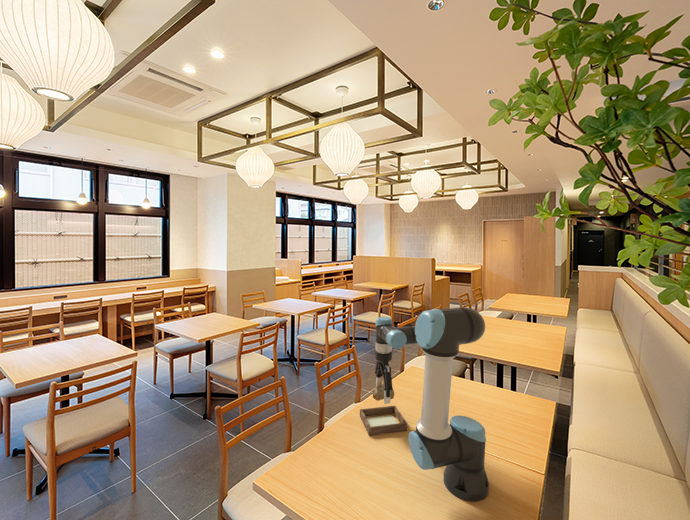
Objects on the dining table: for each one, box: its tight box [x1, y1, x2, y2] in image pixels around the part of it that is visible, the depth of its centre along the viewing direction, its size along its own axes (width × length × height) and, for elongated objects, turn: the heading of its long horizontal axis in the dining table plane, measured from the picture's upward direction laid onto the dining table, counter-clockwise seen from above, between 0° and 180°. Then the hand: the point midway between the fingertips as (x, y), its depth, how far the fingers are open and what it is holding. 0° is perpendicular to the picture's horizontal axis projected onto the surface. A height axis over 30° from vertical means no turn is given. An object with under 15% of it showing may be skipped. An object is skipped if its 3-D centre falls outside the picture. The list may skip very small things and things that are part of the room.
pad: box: [366, 414, 398, 427], centre depth 156 cm, size 11×13×1 cm
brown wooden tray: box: [359, 405, 409, 437], centre depth 156 cm, size 16×18×4 cm
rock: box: [371, 379, 395, 402], centre depth 155 cm, size 12×10×10 cm
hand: (383, 396), depth 155 cm, fingers closed on rock, 11 cm apart
